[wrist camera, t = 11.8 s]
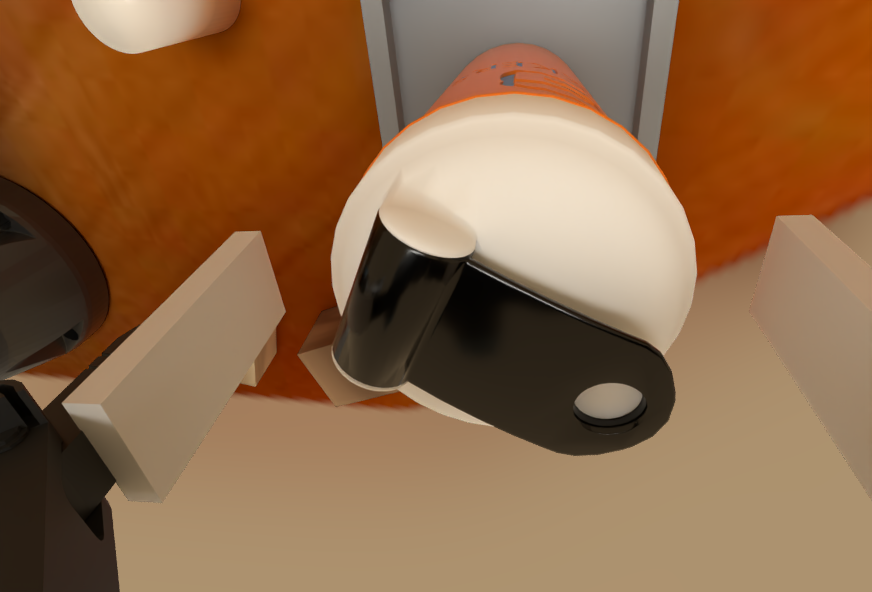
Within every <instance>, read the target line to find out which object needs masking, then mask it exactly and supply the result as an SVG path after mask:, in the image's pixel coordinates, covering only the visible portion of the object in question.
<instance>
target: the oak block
mask: <svg viewBox="0 0 872 592" xmlns="http://www.w3.org/2000/svg"><path fill="white" fill-rule="evenodd" d="M276 353H277V350H276V328H275V330H274V331H273V333H272V334H271V336H270V337H269V339H268V340H267V342H266V343H265V345H264V347H263V348H262V350H261V351H260V353H259V354H258V356H257V357H256V359H255V360H254V362H253V364H252V365H251V367H250V368H249V370H248V371H247V373H246V374H245V376H244V378H243V379H242V381H241V382H240V383H242V384H246V385H250V386H255V387H256V385H257V384H258V382H259V380H260V379H261V377H262V376H263V374H264V372H265V371H266V369H267V367H268V366H269V364H270V363H271V361H272V359H273V358H274V356H275V354H276Z"/></svg>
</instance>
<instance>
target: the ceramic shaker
mask: <svg viewBox="0 0 872 592" xmlns="http://www.w3.org/2000/svg"><path fill="white" fill-rule="evenodd" d="M72 3H73V5H74V7H75V10H76V12H77V13H78V15H79V17H80V19H81V20H82V22H83V23H84V24H85V26H86V27H87V28H88V29H89V31H90V32H91V33H92V34H93V35H94V36H95V37H96V38H98V39H99V40H100V41H101V42H103V43H104V44H106V45H107V46H109V47H111V48H112V49H115V50H117V51H120V52H123V53H130V54H136V53H142V52H145V51H149V50H153V49H157V48H161V47H165V46H169V45H173V44H176V43H180V42H184V41H188V40H192V39H196V38H200V37H204V36H207V35H211V34H215V33H219V32H222V31H225V30H227V29H228V28H230V27H231V26H232V25H233V24H234V22H235V21H236V19H237V17H238V15H239V11H240V6H241V0H72Z"/></svg>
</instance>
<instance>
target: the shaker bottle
mask: <svg viewBox="0 0 872 592" xmlns="http://www.w3.org/2000/svg"><path fill="white" fill-rule="evenodd" d="M331 270H332V286H333V290H334V294H335V297H336V301H337V305H338V308H339V312H340V314H341V316H342V317H341V320H340V323H339V326H338V329H337V332H336V335H335V337H334V340H333V344H332V358H333V362H334V363H335V365H336V367H337V369H338V370H339V371H340V373H341V374H342V375H343V376H344V377H345V378H347V379H348V380H349V381H350V382H352V383H354V384H355V385H358V386H360V387H362V388H365V389H368V390H372V391H392V390H396V389H397V390H399V391H400V392H402V393H404V394H405V395H407V396H408V397H410V398H411V399H413V400H414V401H416V402H417V403H419V404H421V405H423V406H425V407H427V408H429V409H432V410H434V411H436V412H438V413H440V414H443V415H445V416H449V417H452V418H455V419H459V420H462V421H466V422H469V423H474V424H482V425H487V426H493V427H496V428H498V429H501V430H503V431H505V432H507V433H509V434H511V435H514V436H516V437H519V438H521V439H524V440H526V441H528V442H531V443H533V444H536V445H538V446H541V447H543V448H546V449H549V450H551V451H554V452H556V453H561V454H567V455H573V456H582V455H599V454H604V453H609V452H614V451H619V450H623V449H626V448H630V447H632V446H635V445H637V444H639V443H641V442H642V441H645V440H647V439H648V438H651V437H653V436H654V435H655V434H656V433H657V432H658V431H659V430H660V429H661V428H662V427H663V426H664V425H665V424H666V423H667V422H668V420H669V418H670V414H671V411H672V409H673V406H674V403H675V387H674V381H673V375H672V371H671V369H670V367H669V366H668V364H667V362H666V360H665V358H664V357H663V356H664V354H665V353H666V352H667V350H668V349H669V347H670V346H671V345H672V343H673V342H674V340H675V339H676V338H677V336H678V335H679V333H680V331H681V328H682V326H683V324H684V321H685V319H686V317H687V314H688V312H689V310H690V307H691V305H692V299H693V294H694V288H695V282H696V276H697V267H696V254H695V241H694V238H693V235H692V232H691V229H690V226H689V223H688V220H687V217H686V215H685V212H684V209H683V207H682V205H681V203H680V202H679V200H678V199H677V197H676V196H675V194H674V193H673V191H672V189H671V188H670V185H669V182H668V180H667V178H666V176H665V175H664V173H663V172H662V170H661V169H660V167H659V166H658V164H657V163H656V161H655V159H654V158H653V156H652V155H651V153H650V152H649V150H648V149H646V148H645V147H644V146H643V145H642V144H641V143H640V142H639V141H638V140H637V139H636V138H635V137H634V136H633V135H632V134H631V133H630V132H628V131H627V130H626V129H625V128H624V127H623V126H622V125H620V124H618V123H617V122H615V121H613V120H612V119H610V118H608V116H607V115H606V114H605V113H604V111H603V110H602V109H601V108H600V106H599V105H598V104H597V102H596V101H595V100H594V99H593V97H592V96H591V95H590V93H589V92H588V91H587V90H586V88H585V87H584V86H583V84H582V83H581V82H580V81H579V79H578V78H577V77H576V75H575V74H574V73H573V72H572V70H571V69H570V68H569V66H568V65H567V64H566V63H565V62H564V61H562V60H561V59H560V58H559V57H558V56H557V55H555V54H554V53H552V52H550V51H549V50H547V49H545V48H542V47H539V46H536V45H533V44H525V43H512V44H503V45H500V46H498V47H495V48H492V49H489V50H487V51H486V52H484V53H482V54H481V55H479V56H477V57H476V58H475V59H474V60H473V61H472V62H470V63H469V64H468V65H467V66H466V67H465V68H464V69H463V71H462V72H461V73H460V74H459V75H458V76H457V78H456V79H455V80H454V81H453V82H452V83H451V84H450V86H449V87H448V88H447V89H446V90H445V91H444V93H443V94H442V95H441V96H440V97H439V98H438V99H437V101H436V102H435V103H434V104H433V105H432V106H431V108H430V109H429V110H428V111H427V112H426V113H425V114H424V116H422V117H421V118H419V119H417V120H415V121H413V122H412V123H410V124H408V125H407V126H406V127H405V128H404V129H403V130H402V131H401V132H399V133H398V134H397V135H396V136H395V137H394V138H393V139H392V140H390V141H389V142H388V143H387V144H386V145H385V146H384V147H383V148H382V149H381V151H380V152H379V153H378V155H377V156H376V158H375V159H374V160H373V162H372V163H371V164H370V166H369V167H368V169H367V170H366V171H365V173H364V175H363V178H362V180H361V181H360V183H359V184H358V185H357V187H356V188H355V190H354V191H353V192H352V194H351V195H350V196H349V198H348V200H347V203H346V205H345V207H344V210H343V212H342V214H341V217H340V219H339V221H338V224H337V226H336V230H335V236H334V242H333V247H332V253H331Z"/></svg>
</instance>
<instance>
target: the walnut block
mask: <svg viewBox="0 0 872 592" xmlns="http://www.w3.org/2000/svg"><path fill="white" fill-rule="evenodd" d="M341 317H342V316H341V314H340V312H339V308H338V306H336V307H333V308H330V309H327V310H324V311H321V313H320V315H319V317H318V318H317V320H316V322H315V324H314V326H313V327H312V329H311V331H310V333H309V335H308V336H307V338H306V340H305V342H304V343H303V345H302V347H301V349H300V351H299V352H298V354H297V355H298V357H299V358H300V359H301V361H302V362H303V363H304V365H305V366H306V367H307V369H308V370H309V371H310V373H311V374H312V375H313V377H314V378H315V380H316V381H317V382H318V384H319V385H320V386H321V388H322V389H323V390H324V392H325V393H326V394H327V396H328V397H329V398H330V400H331V401H332V403H333V404H334V405H335V407H338V406H343V405H347V404H351V403H355V402H359V401H363V400H367V399H371V398H375V397H379V396H383V395H387V394H391V393H395V392H398V391H399V390H397V389H396V390H392V391H372V390H368V389H365V388H362V387H360V386H358V385H355V384H354V383H352V382H350V381H349V380H348V379H347V378H345V377H344V376H343V375H342V374H341V373H340V371H339V370H338V369H337V367H336V365H335V363H334V362H333V358H332V344H333V340H334V337H335V335H336V332H337V329H338V326H339V323H340V320H341Z"/></svg>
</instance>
